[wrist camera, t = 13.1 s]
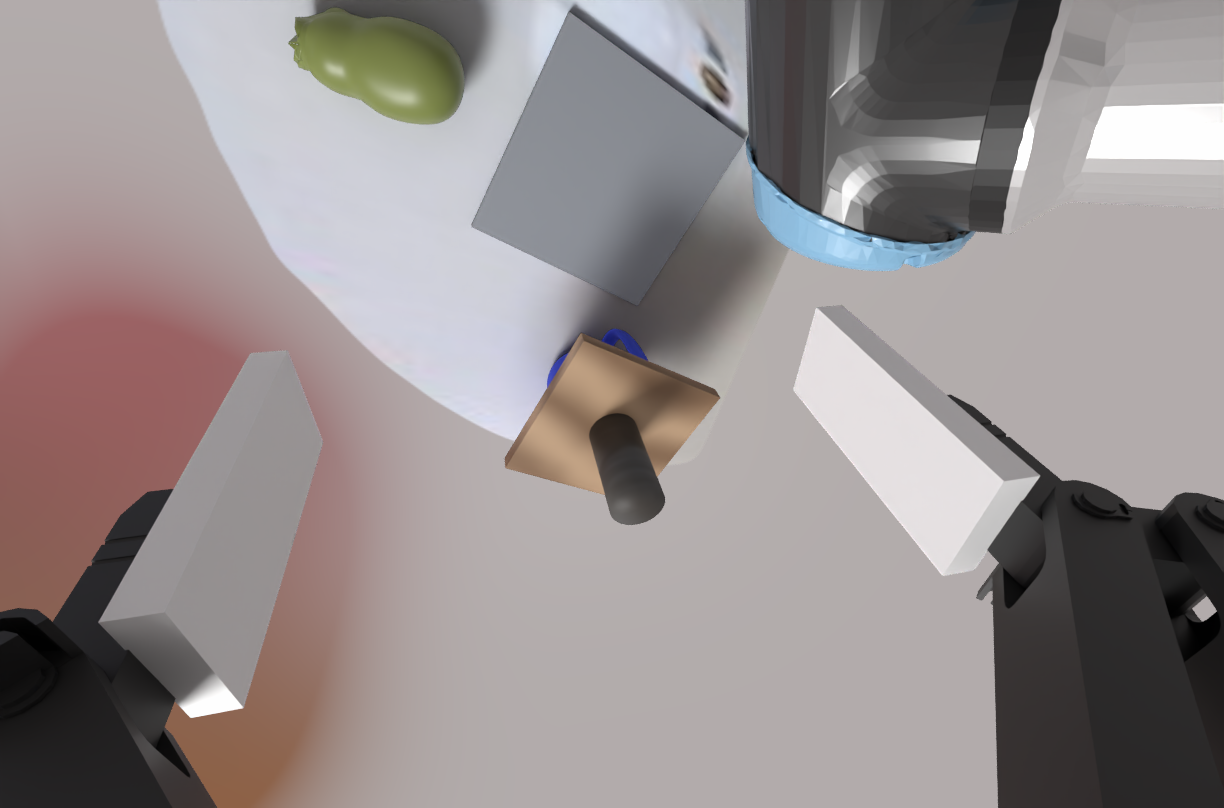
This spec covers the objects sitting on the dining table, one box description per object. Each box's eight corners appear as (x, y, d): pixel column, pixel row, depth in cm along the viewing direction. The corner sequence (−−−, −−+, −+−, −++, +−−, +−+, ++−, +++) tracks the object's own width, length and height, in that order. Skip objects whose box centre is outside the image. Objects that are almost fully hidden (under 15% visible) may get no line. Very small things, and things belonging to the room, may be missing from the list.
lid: (580, 332, 40) (606, 409, 33) (714, 389, 46) (761, 464, 39) (504, 458, 46) (512, 546, 38) (632, 493, 52) (660, 576, 44)
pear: (451, 142, 35) (280, 97, 33) (465, 128, 39) (315, 86, 37) (460, 40, 32) (272, -17, 30) (474, 36, 36) (311, -14, 34)
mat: (568, 11, 36) (569, 11, 36) (742, 139, 44) (745, 140, 44) (471, 224, 43) (471, 226, 43) (636, 303, 51) (637, 306, 50)
